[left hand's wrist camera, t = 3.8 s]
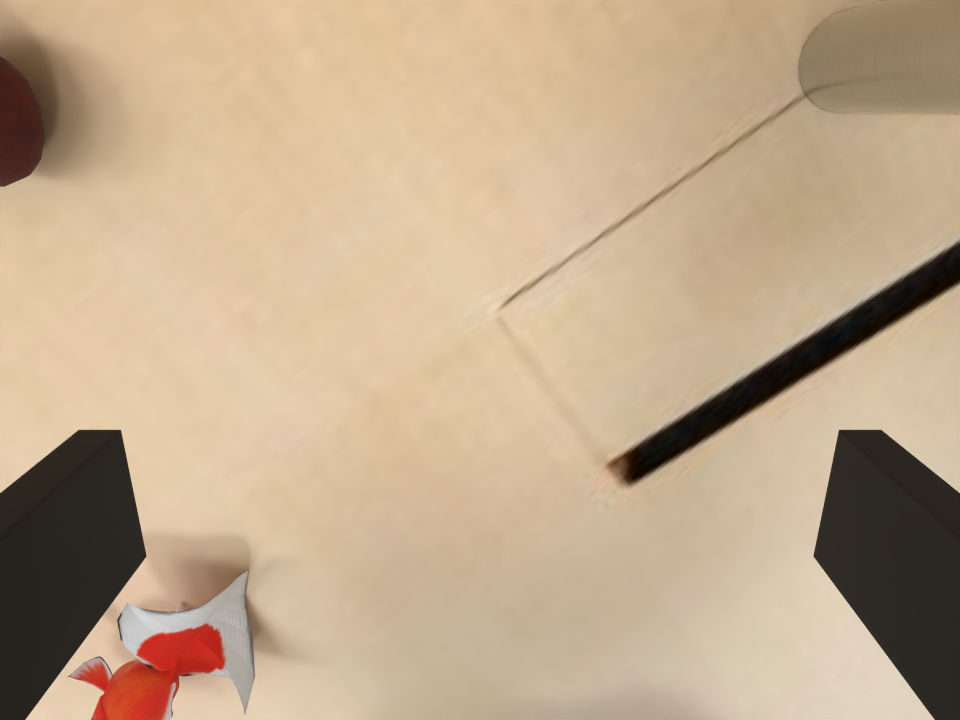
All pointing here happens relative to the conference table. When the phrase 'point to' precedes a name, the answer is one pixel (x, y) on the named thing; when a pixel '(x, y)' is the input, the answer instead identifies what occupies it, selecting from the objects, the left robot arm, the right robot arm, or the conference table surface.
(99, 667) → the fish
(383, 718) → the conference table surface
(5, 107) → the dark red ball
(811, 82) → the bottle
